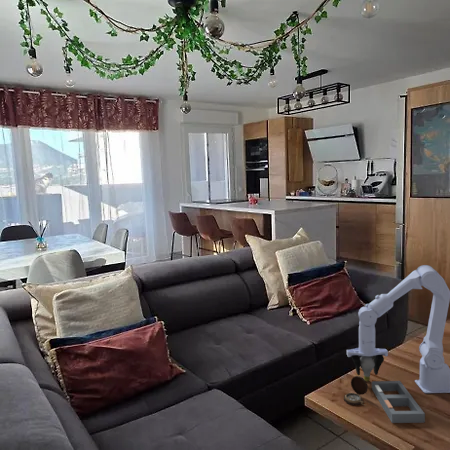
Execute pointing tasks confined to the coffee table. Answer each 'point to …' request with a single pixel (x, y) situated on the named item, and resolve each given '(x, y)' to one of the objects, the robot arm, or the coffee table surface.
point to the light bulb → (367, 366)
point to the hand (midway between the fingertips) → (366, 373)
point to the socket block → (398, 402)
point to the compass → (360, 389)
